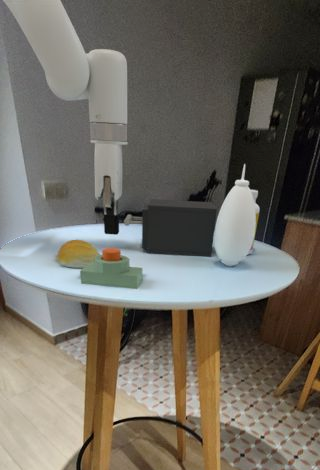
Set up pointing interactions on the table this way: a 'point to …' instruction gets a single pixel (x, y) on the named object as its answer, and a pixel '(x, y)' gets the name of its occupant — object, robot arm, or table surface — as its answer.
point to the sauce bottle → (235, 224)
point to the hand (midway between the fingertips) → (111, 233)
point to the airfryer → (180, 227)
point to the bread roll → (76, 254)
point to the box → (111, 273)
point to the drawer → (144, 223)
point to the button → (111, 254)
